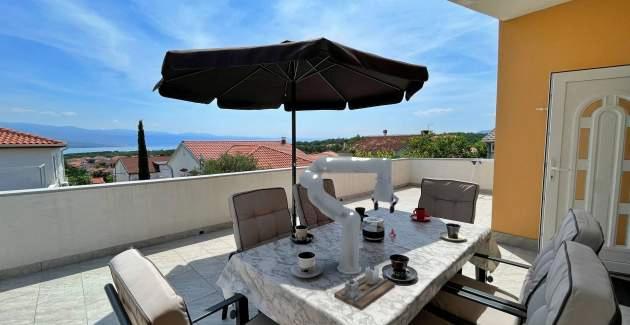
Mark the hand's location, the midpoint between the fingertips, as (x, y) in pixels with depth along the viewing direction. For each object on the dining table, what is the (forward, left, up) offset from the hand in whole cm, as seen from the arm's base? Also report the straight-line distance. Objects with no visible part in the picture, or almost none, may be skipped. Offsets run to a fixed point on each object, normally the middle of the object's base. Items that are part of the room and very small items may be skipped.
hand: (383, 211), depth 152 cm
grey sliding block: (+11, -28, -26) cm, 40 cm away
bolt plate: (+11, -33, -28) cm, 45 cm away
